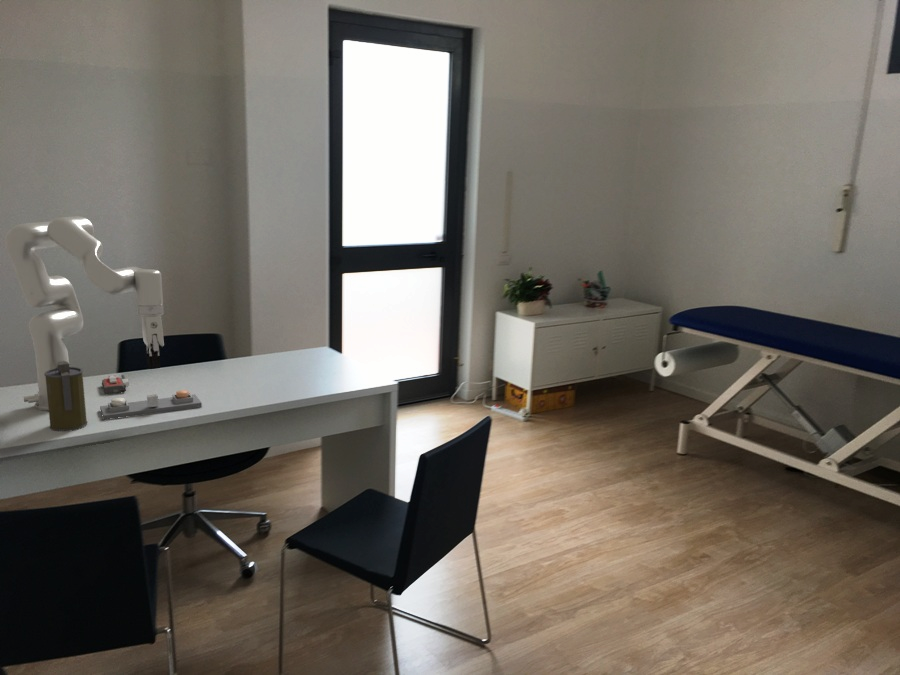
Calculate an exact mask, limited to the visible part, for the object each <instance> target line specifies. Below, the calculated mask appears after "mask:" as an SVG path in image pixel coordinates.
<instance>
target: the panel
mask: <svg viewBox="0 0 900 675" xmlns="http://www.w3.org/2000/svg"><path fill="white" fill-rule="evenodd" d="M202 404H203V403H202V401H201V400H200V399H199V398H198V396H197V395H196V394H195V393H194V394H191V392H189V397H188V398H181V399H178V398H176V394H172V396H171V397H164V398H162V397H161V398H158V406H156V407H148V404H147V399H146V400H140V401H139V400H138V401H133V402H131V401H130V402H128V401H127V400H125V405H124V406H118V407H112V403H111V402H107V405H100V406H99V407H100V410H101V411H100V413H101V415H103V416H102V418H104V419H108V420H111V419H110V418H115V419H119V418H118V417H123V418H127V417H126V416H130V417H136V416H135V415H138V416H142V415H143V414H145V415H151V414H150V413H153V414H157V413H158V414H160V413H166V412H172V411H173V410H175V411H180V409H182V410H188V408H190V409H194V408H195V409H197V408H202V406H203V405H202ZM196 407H197V408H196ZM159 412H160V413H159ZM173 412H174V411H173ZM104 419H103V420H104Z"/></svg>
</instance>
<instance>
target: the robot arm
mask: <svg viewBox="0 0 900 675" xmlns="http://www.w3.org/2000/svg"><path fill="white" fill-rule="evenodd" d="M94 235H95V227H94V225H93V224H92V222H91V221H90V220H89V219H87V217H83V216H80V215H79V216H78V215H77V216H63V217H58V218H54V219H53V220H50V221H49V220H48V221H41V222H40V221H39V222H38V221H37V222H27V223H26V222H25V223H21V224H18V225H17V224H16V225H15V226H14V227H12V228H10V229H9V230H8V232H7V233H6V235H5V239H4V246H5V247H4V248H5V252H6V253H7V256H8V258H9V260H10V261H11V264H12V266H13V268H14V271H15V274H16V277H17V281H18V283H19V287H20V290H21V292H22V296H23V298H24V301H25V303H26V304H27V306H29V307H30V308H33V309H41V308H42V309H44V308H48V307H53V309H50V310H47V311H42V312H40V313H37V314H35V315H34V316H33V317H31V318H30V320H29V323H28V331H29V334H30V338H31V341H32V344H33V349H34V356H35V357H34V358H35V367H36V376H37V377H36V378H37V386H38V391H37V393H34V395H24V396H23V402H24V403H28V404H31V403H34V408H35V409H37V410H39V411H49V408H48V397H47V387H46V376H45V375H44V373H45V372H46V371H48V370H51V369H55V368H56V367H57V368H58V365H57V363H58V362H63V361H67V362H68V363H69V364H70V360H69V351H68V348H67V347H66V345H65V343H64V342H63V341H62V339H63V338H66V337H70V336H73V335H75V334H78V333H79V332H80V331H82V329H83V327H84V316H83V313H82V310H81V306H80V303H79V300H78V297H77V293H76V291H75V288H74V286H73V284H72V283H71V282H70V280H69V279H67V278H66V277H64V276H62V275H56V274H55V275H50V276H49V274H48V272H47V269H46V265H45V263H44V261H43V259H42V258H41V257H40V256H39V255H38V254H37V253H36V252H35V251H37V250H44V249H52V248H59V247H60V248H61V249H63V250H64V251H66V252H67V253H68V254H69V255H70V256H72V257H74V258H75V259H76V260H77V261H79V262H80V263H81V266H82V269H83V272H84V274H85V276H86V278H87V279H88V281H90V282H91V283H93V285H95V286H96V287H97V288H99V289H100V290H101V291H103V292H105V293H106V294H109V295H115V296H117V295H122V294H126V293H131V292H135V297H136V309H137V310H136V311H137V316H139V317H141V332H142V339H143V342H144V345H145V346H146V362H147V366H148V368H149V369H150V370H152V369H154V370H156V369H160V368H161V356H160V347H159V346H161V347H162V348H163V347H164V346H165V342H164V331H163V330H164V329H163V322H162V315H164V312H165V311H164V298H163V297H164V296H163V283H162V282H163V279H162V273H161V271H159V270H157V269H149V268H146V269H144V268H142V267H141V268H140V267H139V266H127V267H122V268H121V267H120V268H115V269H112V268H110V267H109V266H108V265H106V264H105V263H103V262H102V260H100V258H101V256H102V254H103V251H104V246H103V243H102V242H101V241H100V240H98V239H97V238H96V237H94Z"/></svg>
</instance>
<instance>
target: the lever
mask: <svg viewBox="0 0 900 675" xmlns="http://www.w3.org/2000/svg"><path fill="white" fill-rule="evenodd" d="M146 398H147V399H146V400H147V404H148V407H156V406H158V399H159V396H158V394H157V393H155V394H153V393H152V394H147V395H146Z"/></svg>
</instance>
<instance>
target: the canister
mask: <svg viewBox="0 0 900 675" xmlns="http://www.w3.org/2000/svg"><path fill="white" fill-rule="evenodd" d="M57 365H58V368H57V367H56V368H55V369H51V370H48V371H46V372H45V373H44V375H45V376H46V387H47V397H48V408H49V410H48V415H49V417H48V419H49V429H50V430H51V431H54V432H70V430H72V431H77V430H80V429H82V427H83V428H85V427H86V426H87V425H88V424H87V423H88V421H87V411H86V410H87V409H86V399H85V388H84V378H83V377H84V376H83V375H84V374H83V373H84V370H83V368H81V367H75V366H70V362H69V363H68V362H67V361H63V362H58V363H57ZM84 426H85V427H84ZM79 428H80V429H79ZM76 429H77V430H76Z"/></svg>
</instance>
